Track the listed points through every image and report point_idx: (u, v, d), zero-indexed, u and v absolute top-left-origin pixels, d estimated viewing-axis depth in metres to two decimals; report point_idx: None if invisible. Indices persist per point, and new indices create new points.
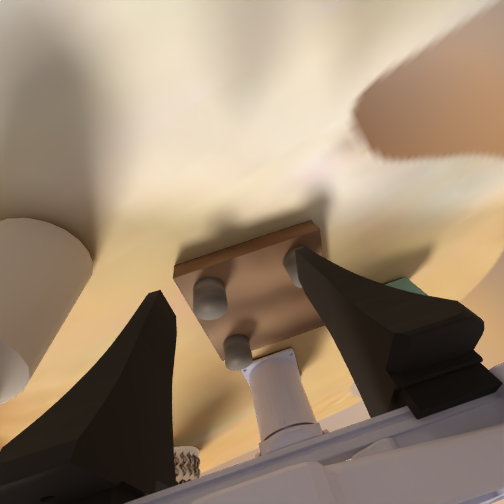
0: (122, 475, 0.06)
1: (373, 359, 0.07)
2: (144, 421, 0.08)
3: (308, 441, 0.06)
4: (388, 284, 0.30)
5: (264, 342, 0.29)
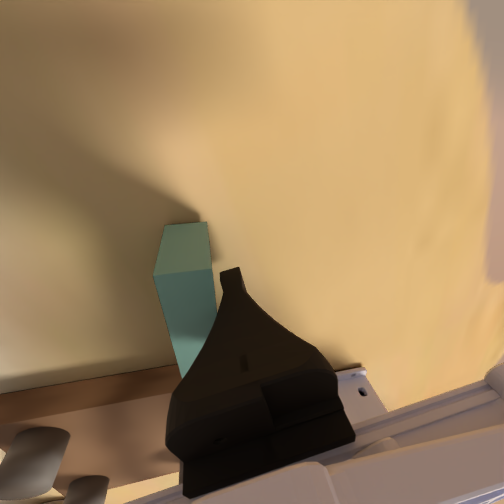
0: (274, 423, 0.06)
1: None
2: None
3: None
4: None
5: None
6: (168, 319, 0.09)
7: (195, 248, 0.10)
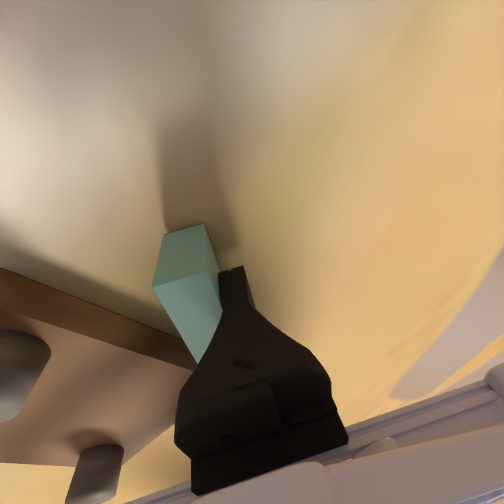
0: (281, 421, 0.06)
1: None
2: None
3: None
4: None
5: (147, 437, 0.18)
6: (178, 325, 0.09)
7: (192, 252, 0.10)
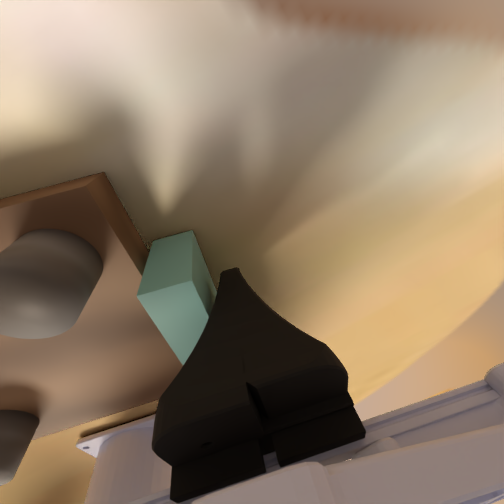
0: (263, 427, 0.06)
1: None
2: None
3: None
4: None
5: (79, 418, 0.15)
6: (164, 333, 0.09)
7: (178, 260, 0.10)
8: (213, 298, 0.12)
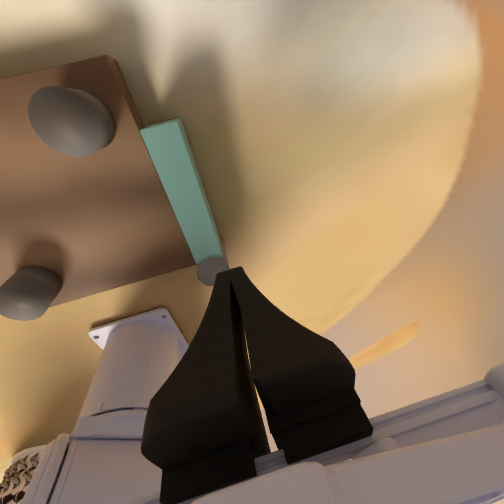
0: (254, 430, 0.06)
1: None
2: (249, 387, 0.08)
3: None
4: None
5: (93, 286, 0.19)
6: (159, 171, 0.13)
7: (169, 121, 0.14)
8: (196, 171, 0.16)
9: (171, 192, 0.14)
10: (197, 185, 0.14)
